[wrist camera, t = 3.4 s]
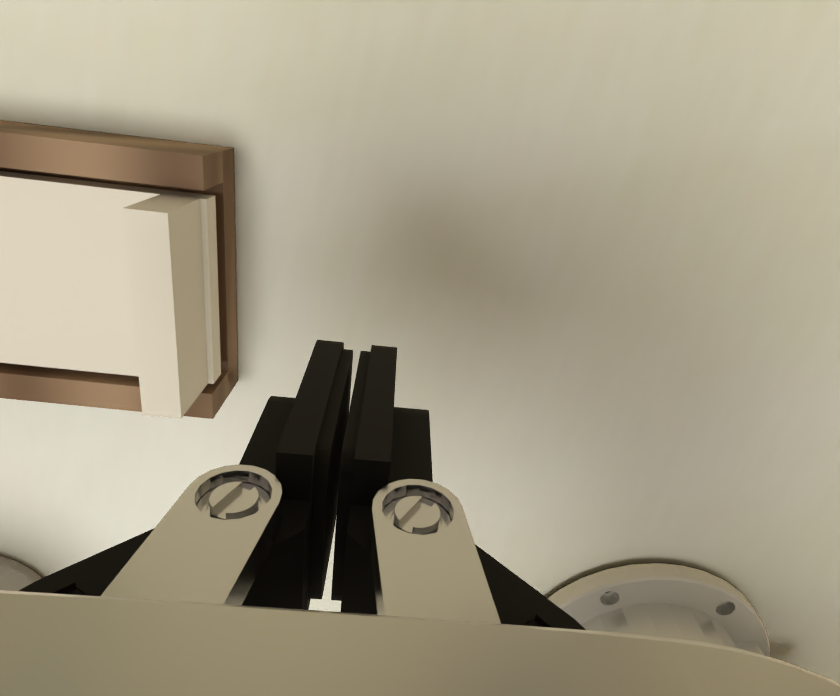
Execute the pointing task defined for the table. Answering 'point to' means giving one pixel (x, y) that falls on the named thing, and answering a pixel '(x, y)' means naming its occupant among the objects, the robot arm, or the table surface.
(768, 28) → the table surface
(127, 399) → the board
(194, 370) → the lid
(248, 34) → the table surface
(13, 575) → the coffee cup
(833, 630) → the table surface
